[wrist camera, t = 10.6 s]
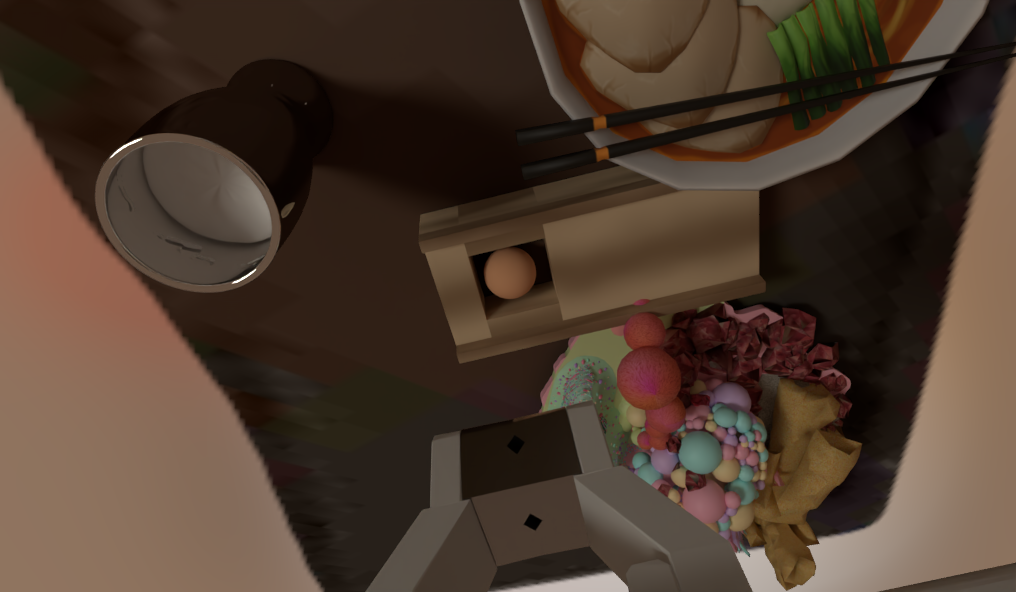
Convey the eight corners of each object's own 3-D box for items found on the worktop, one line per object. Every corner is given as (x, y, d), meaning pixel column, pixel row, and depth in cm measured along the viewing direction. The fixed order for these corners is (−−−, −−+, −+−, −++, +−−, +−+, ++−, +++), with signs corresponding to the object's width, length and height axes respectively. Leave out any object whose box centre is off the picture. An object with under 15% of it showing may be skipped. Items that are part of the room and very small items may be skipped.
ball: (482, 240, 41) (475, 267, 39) (533, 233, 41) (530, 261, 38) (491, 282, 43) (486, 311, 41) (540, 277, 43) (538, 306, 40)
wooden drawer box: (420, 214, 40) (418, 241, 36) (738, 136, 39) (766, 157, 36) (458, 330, 45) (459, 363, 41) (740, 263, 44) (765, 291, 41)
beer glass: (334, 180, 38) (278, 310, 25) (215, 156, 37) (94, 281, 24) (348, 67, 35) (293, 151, 22) (218, 35, 33) (79, 106, 21)
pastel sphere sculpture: (881, 312, 47) (979, 369, 39) (777, 550, 55) (840, 640, 47) (570, 264, 43) (603, 315, 35) (507, 529, 51) (521, 624, 42)
